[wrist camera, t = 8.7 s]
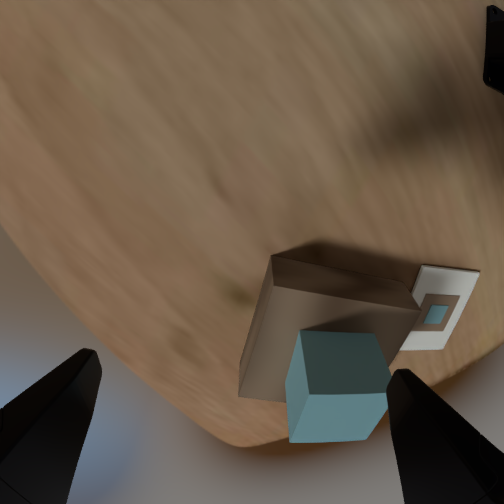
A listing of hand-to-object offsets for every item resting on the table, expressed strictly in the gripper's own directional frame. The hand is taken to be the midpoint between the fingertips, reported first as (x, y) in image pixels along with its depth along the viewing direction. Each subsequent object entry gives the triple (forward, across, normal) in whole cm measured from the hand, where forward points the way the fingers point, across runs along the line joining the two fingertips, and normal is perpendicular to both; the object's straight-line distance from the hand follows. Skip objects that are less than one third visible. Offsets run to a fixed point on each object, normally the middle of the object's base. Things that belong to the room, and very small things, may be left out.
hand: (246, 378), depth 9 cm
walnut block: (+13, -6, +8) cm, 16 cm away
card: (+12, -15, +6) cm, 21 cm away
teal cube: (+9, -6, +8) cm, 13 cm away
